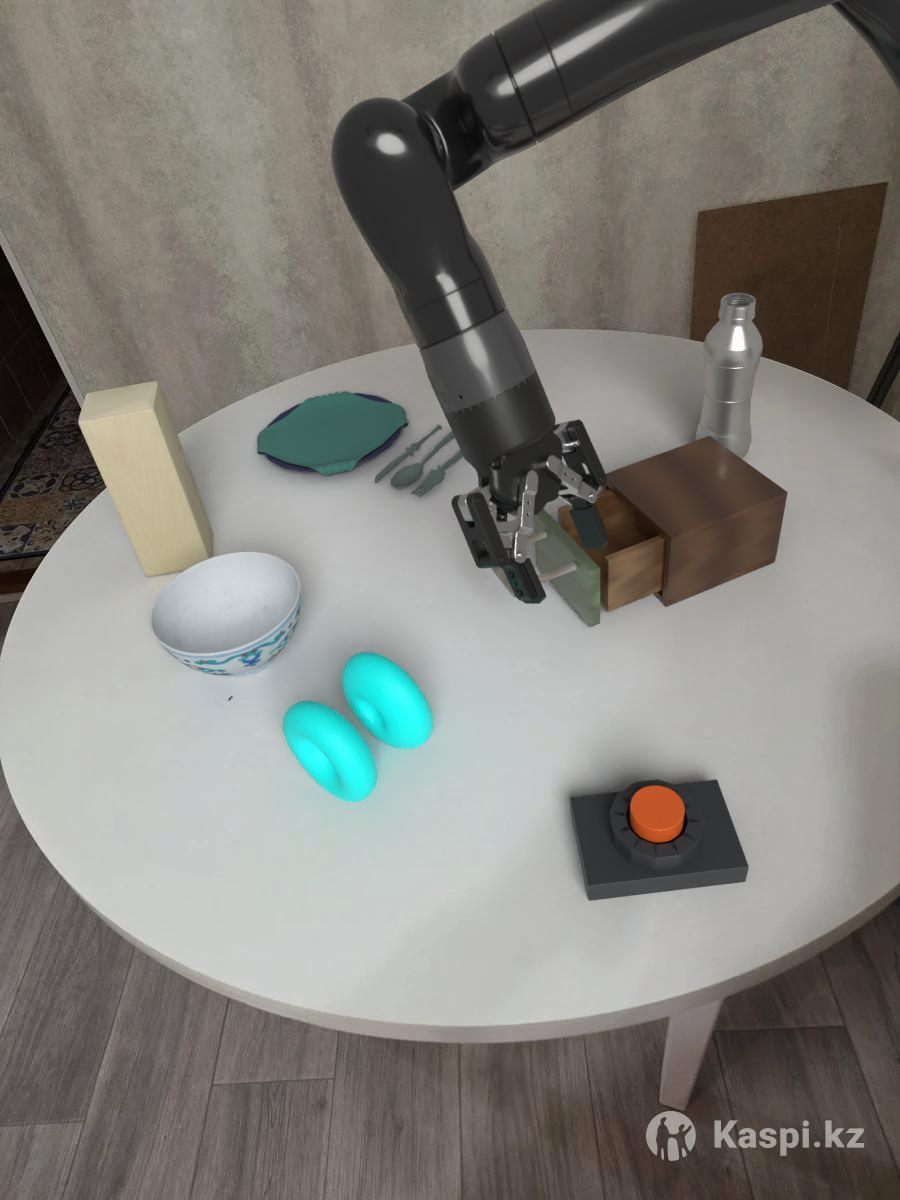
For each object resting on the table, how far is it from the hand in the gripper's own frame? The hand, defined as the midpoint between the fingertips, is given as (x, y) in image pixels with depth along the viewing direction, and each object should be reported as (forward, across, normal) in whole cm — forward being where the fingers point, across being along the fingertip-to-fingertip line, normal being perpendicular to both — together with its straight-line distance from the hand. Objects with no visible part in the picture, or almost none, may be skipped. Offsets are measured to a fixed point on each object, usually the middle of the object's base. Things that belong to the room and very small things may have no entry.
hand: (567, 573), depth 70 cm
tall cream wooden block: (-8, -7, +54) cm, 55 cm away
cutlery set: (-8, +22, +51) cm, 56 cm away
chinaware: (+1, -13, +36) cm, 38 cm away
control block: (+21, -8, -5) cm, 23 cm away
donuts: (+10, -15, +17) cm, 25 cm away
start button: (+18, -8, -7) cm, 20 cm away
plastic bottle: (+10, +44, +14) cm, 47 cm away
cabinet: (+12, +26, +9) cm, 30 cm away
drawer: (+10, +14, +14) cm, 22 cm away
